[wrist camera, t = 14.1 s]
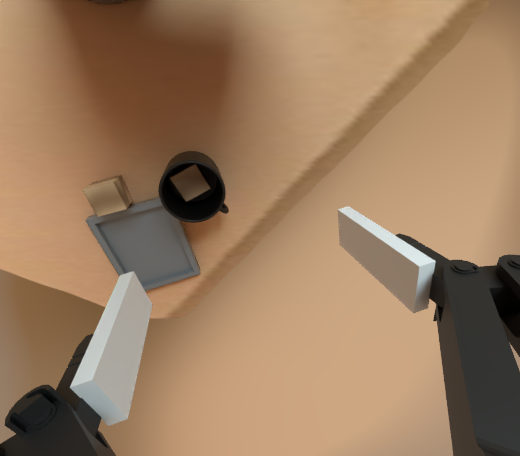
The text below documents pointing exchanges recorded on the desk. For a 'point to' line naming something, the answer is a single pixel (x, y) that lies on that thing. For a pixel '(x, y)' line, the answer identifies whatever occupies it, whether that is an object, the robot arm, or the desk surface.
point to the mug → (201, 204)
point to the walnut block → (190, 181)
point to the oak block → (108, 195)
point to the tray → (146, 243)
